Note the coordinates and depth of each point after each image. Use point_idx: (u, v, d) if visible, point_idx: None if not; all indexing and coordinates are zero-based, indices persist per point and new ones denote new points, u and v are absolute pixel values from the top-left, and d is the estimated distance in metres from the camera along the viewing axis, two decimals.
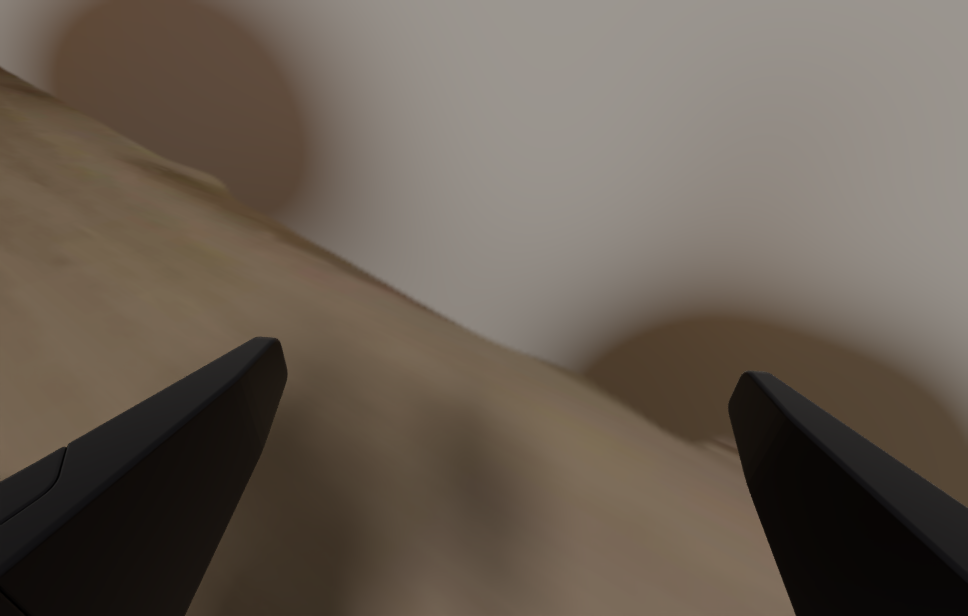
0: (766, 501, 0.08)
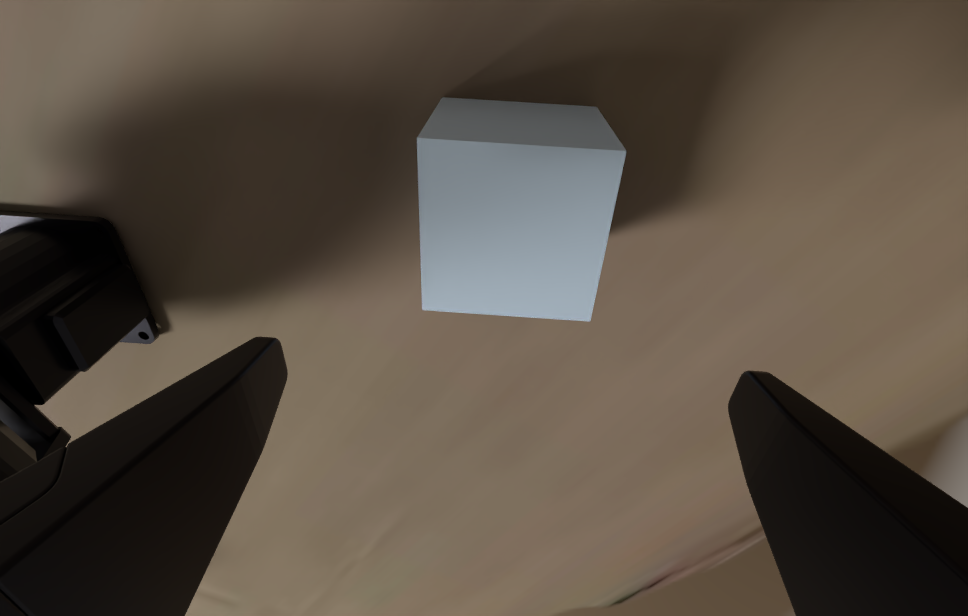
0: (766, 501, 0.08)
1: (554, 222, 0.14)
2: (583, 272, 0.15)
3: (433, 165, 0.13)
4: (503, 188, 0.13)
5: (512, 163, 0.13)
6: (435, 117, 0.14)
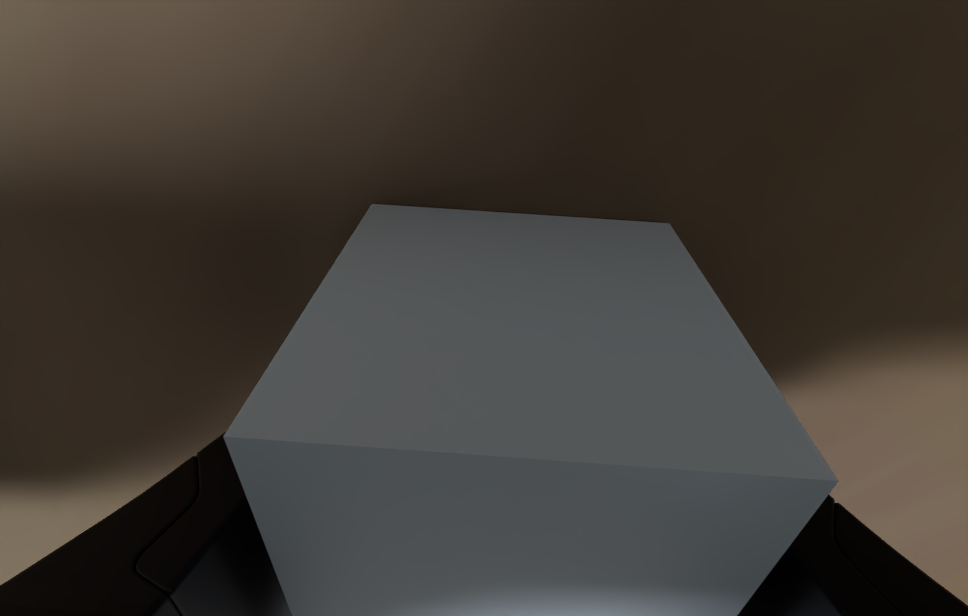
0: None
1: (610, 585, 0.05)
2: None
3: (285, 488, 0.05)
4: (480, 532, 0.05)
5: (502, 491, 0.05)
6: (326, 295, 0.06)
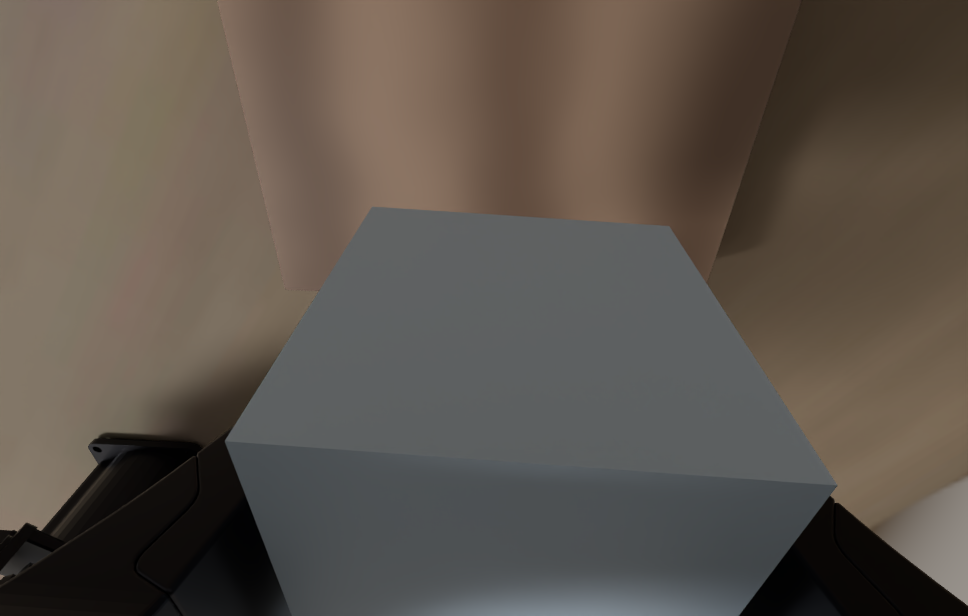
0: None
1: (610, 589, 0.05)
2: None
3: (286, 492, 0.05)
4: (481, 535, 0.05)
5: (503, 495, 0.05)
6: (327, 299, 0.06)
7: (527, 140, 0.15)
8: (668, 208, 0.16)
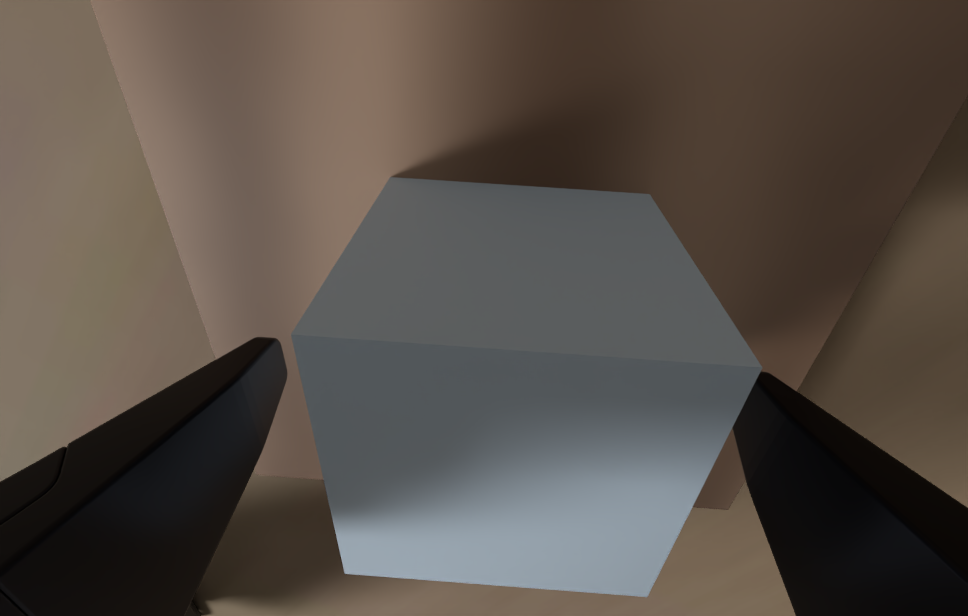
0: (766, 501, 0.08)
1: (592, 472, 0.07)
2: (643, 540, 0.08)
3: (334, 382, 0.06)
4: (487, 420, 0.06)
5: (505, 381, 0.06)
6: (359, 244, 0.08)
7: None
8: None
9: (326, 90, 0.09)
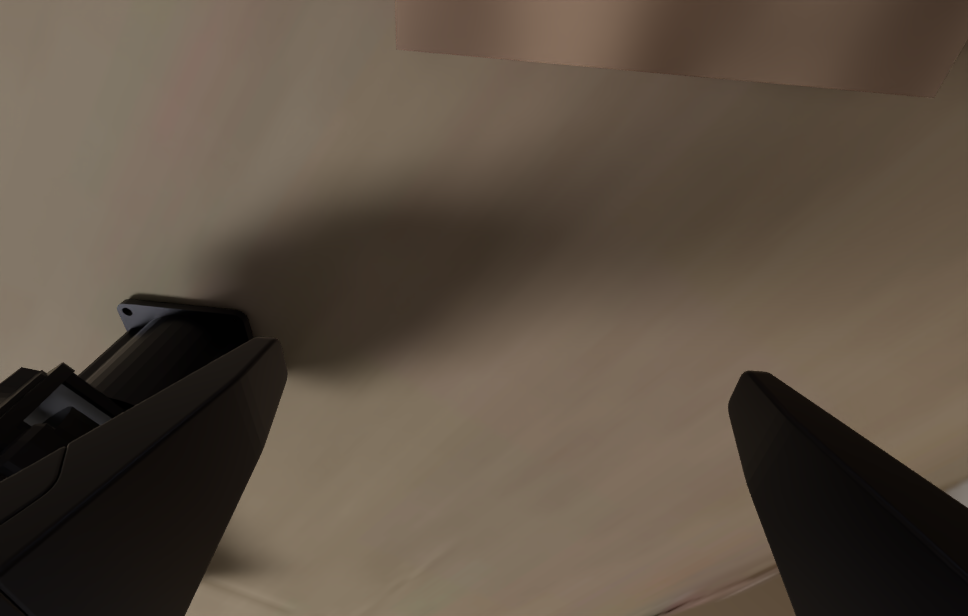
0: (766, 501, 0.08)
1: None
2: None
3: None
4: None
5: None
6: None
7: None
8: None
9: None
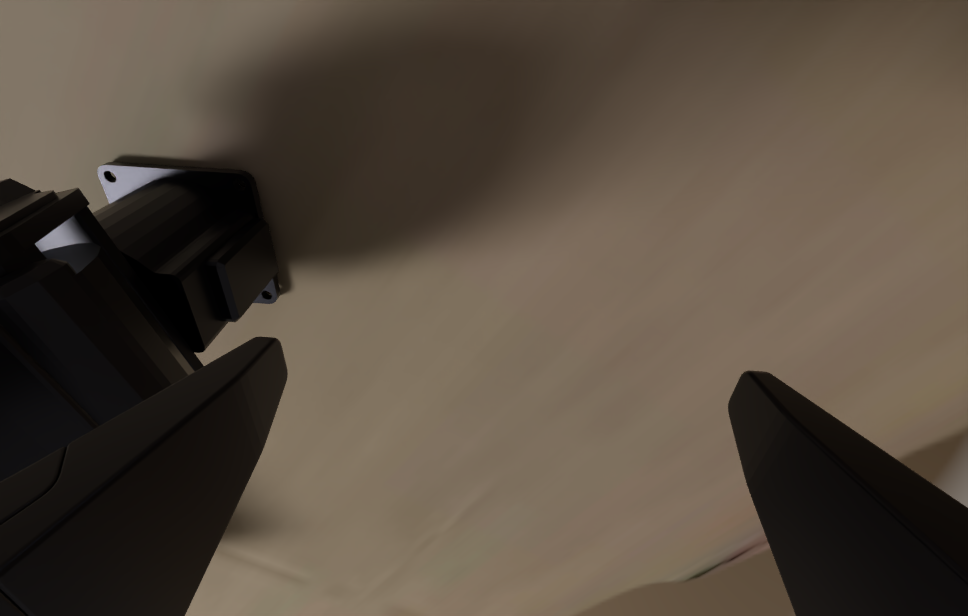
0: (766, 501, 0.08)
1: None
2: None
3: None
4: None
5: None
6: None
7: None
8: None
9: None
